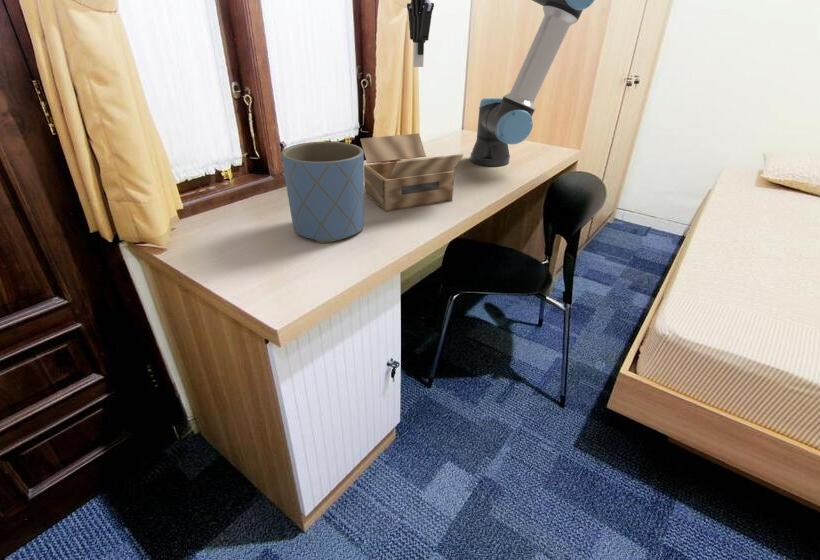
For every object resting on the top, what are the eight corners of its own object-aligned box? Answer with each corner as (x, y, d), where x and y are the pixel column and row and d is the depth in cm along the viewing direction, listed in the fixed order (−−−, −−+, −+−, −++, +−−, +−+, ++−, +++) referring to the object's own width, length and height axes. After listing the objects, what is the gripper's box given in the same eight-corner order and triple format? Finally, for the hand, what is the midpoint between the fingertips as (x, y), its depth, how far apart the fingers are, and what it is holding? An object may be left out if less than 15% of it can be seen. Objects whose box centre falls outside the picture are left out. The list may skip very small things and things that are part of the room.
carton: (428, 184, 144) (430, 157, 139) (453, 200, 132) (456, 171, 127) (363, 193, 135) (362, 165, 131) (384, 212, 123) (383, 181, 118)
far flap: (426, 156, 138) (425, 156, 139) (419, 133, 139) (418, 134, 140) (367, 162, 131) (367, 163, 131) (360, 138, 132) (360, 139, 132)
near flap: (463, 153, 119) (463, 155, 119) (451, 169, 126) (452, 171, 126) (396, 161, 111) (397, 162, 111) (388, 178, 119) (389, 179, 118)
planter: (381, 230, 112) (380, 152, 102) (319, 252, 101) (310, 167, 90) (337, 209, 124) (332, 137, 114) (277, 227, 112) (265, 149, 102)
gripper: (399, -26, 126) (398, 64, 138) (419, -29, 116) (416, 68, 128) (421, -24, 129) (419, 64, 141) (443, -27, 119) (439, 68, 131)
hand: (418, 66), depth 135 cm, fingers closed
